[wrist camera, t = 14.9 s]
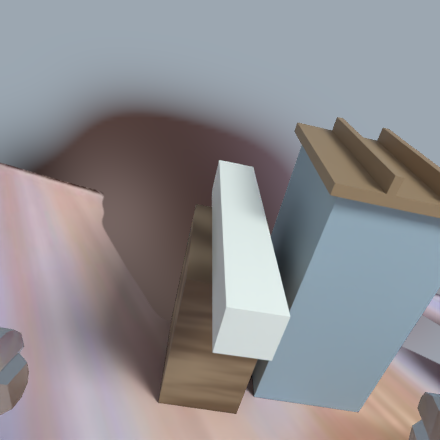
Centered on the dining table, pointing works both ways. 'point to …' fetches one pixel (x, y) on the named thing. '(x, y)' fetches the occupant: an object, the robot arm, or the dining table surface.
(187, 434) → the dining table surface
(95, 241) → the dining table surface
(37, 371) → the dining table surface
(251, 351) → the white beam
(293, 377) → the cabinet
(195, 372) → the walnut block
